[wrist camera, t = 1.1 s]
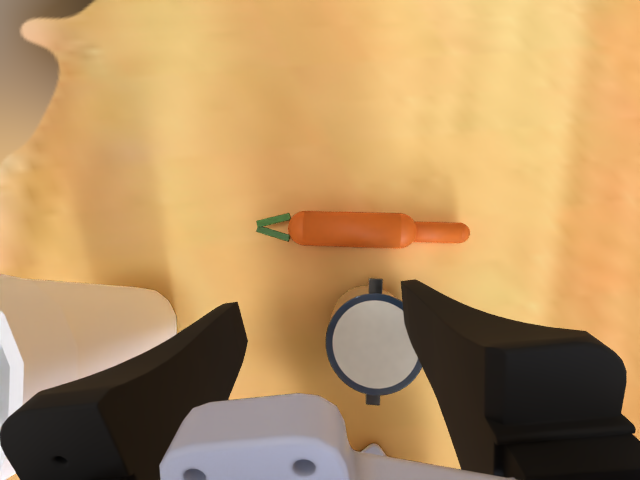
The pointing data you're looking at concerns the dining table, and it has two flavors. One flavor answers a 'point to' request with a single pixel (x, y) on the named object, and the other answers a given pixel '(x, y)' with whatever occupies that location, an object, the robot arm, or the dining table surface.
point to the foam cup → (70, 335)
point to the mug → (371, 342)
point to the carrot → (362, 229)
